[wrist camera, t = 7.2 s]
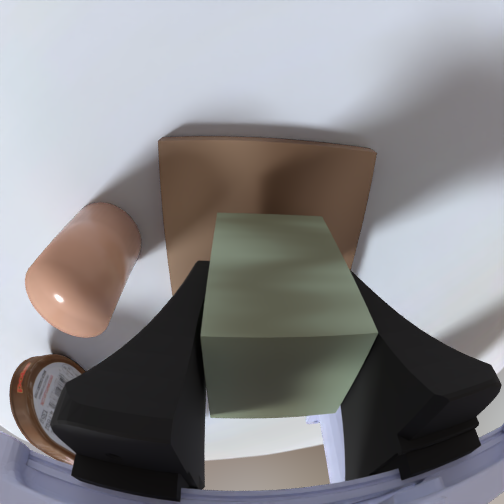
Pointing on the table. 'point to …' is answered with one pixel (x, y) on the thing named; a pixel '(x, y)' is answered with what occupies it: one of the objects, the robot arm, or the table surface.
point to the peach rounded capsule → (85, 270)
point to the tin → (42, 401)
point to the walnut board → (257, 189)
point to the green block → (280, 319)
